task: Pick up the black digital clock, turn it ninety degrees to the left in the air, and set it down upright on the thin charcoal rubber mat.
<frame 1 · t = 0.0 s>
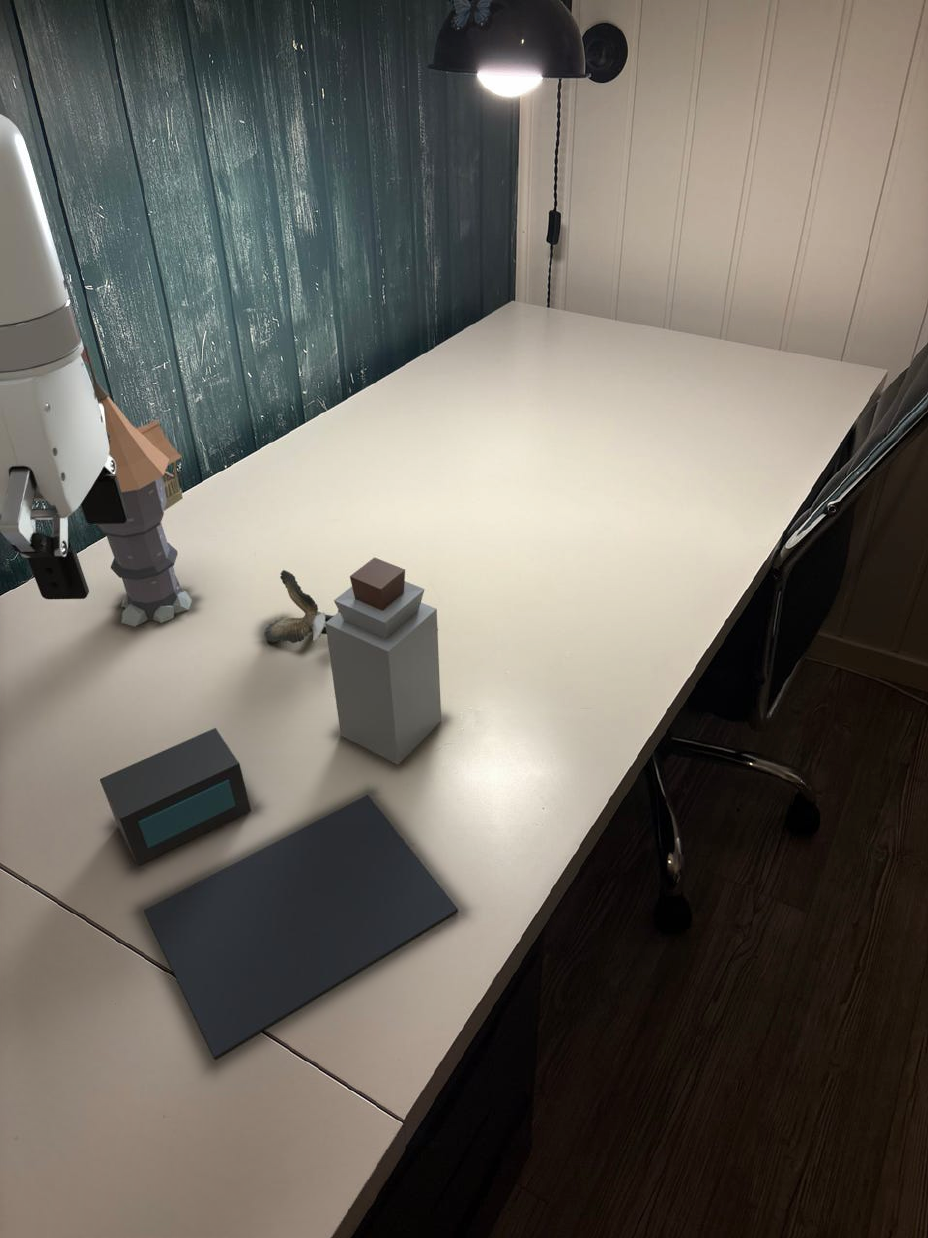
hand: (88, 557, 69), 23 cm above the table, tool pointing down, fingers open, 9 cm apart
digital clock: (184, 818, 78), on the table
eagle figurine: (309, 635, 98), on the table
perfume bottle: (391, 729, 87), on the table
model tower: (159, 602, 103), on the table
rubber mat: (301, 911, 71), on the table
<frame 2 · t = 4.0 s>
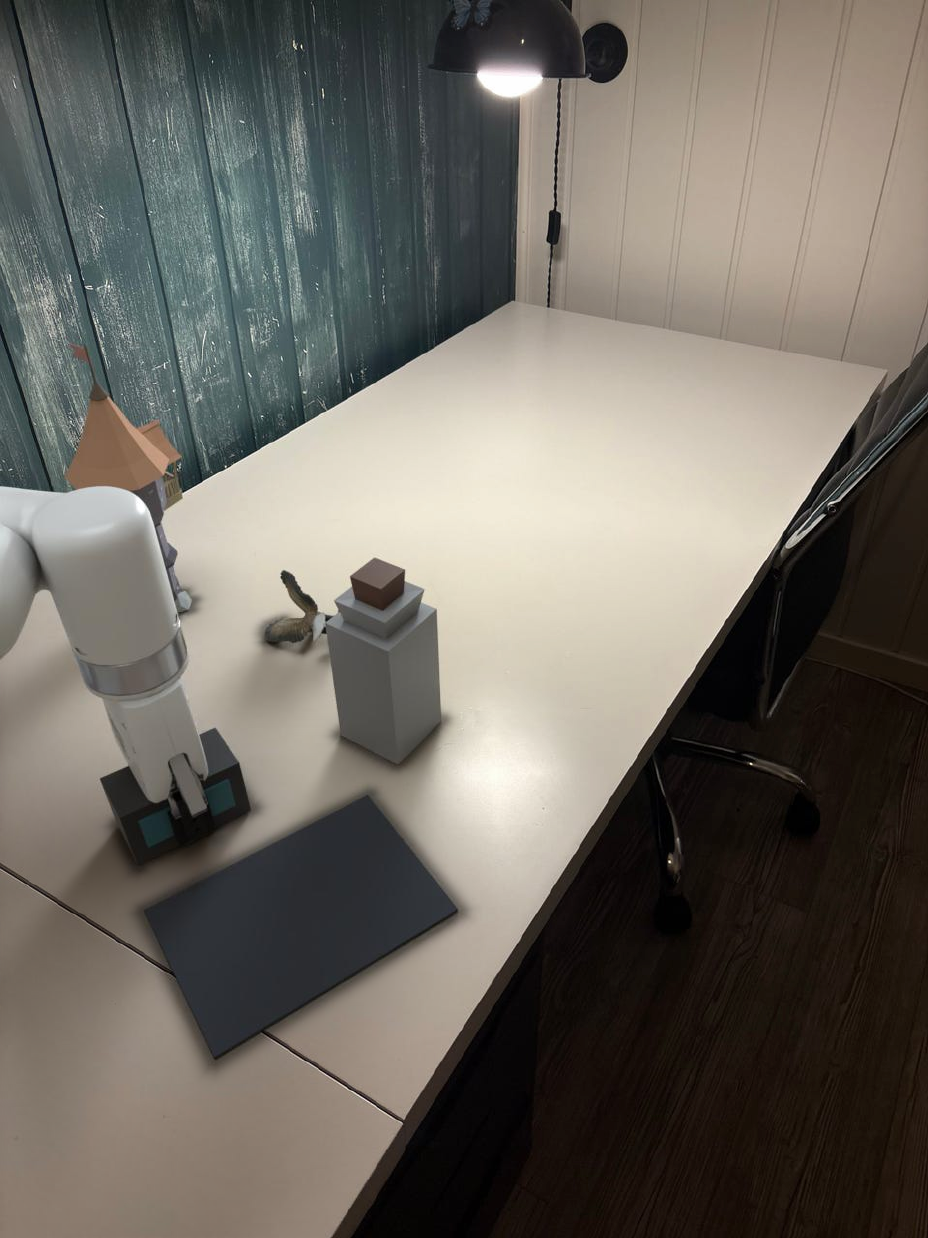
hand: (183, 811, 78), 1 cm above the table, tool pointing down, fingers closed on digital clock, 5 cm apart
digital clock: (185, 818, 78), on the table, touching gripper
everything else where it was.
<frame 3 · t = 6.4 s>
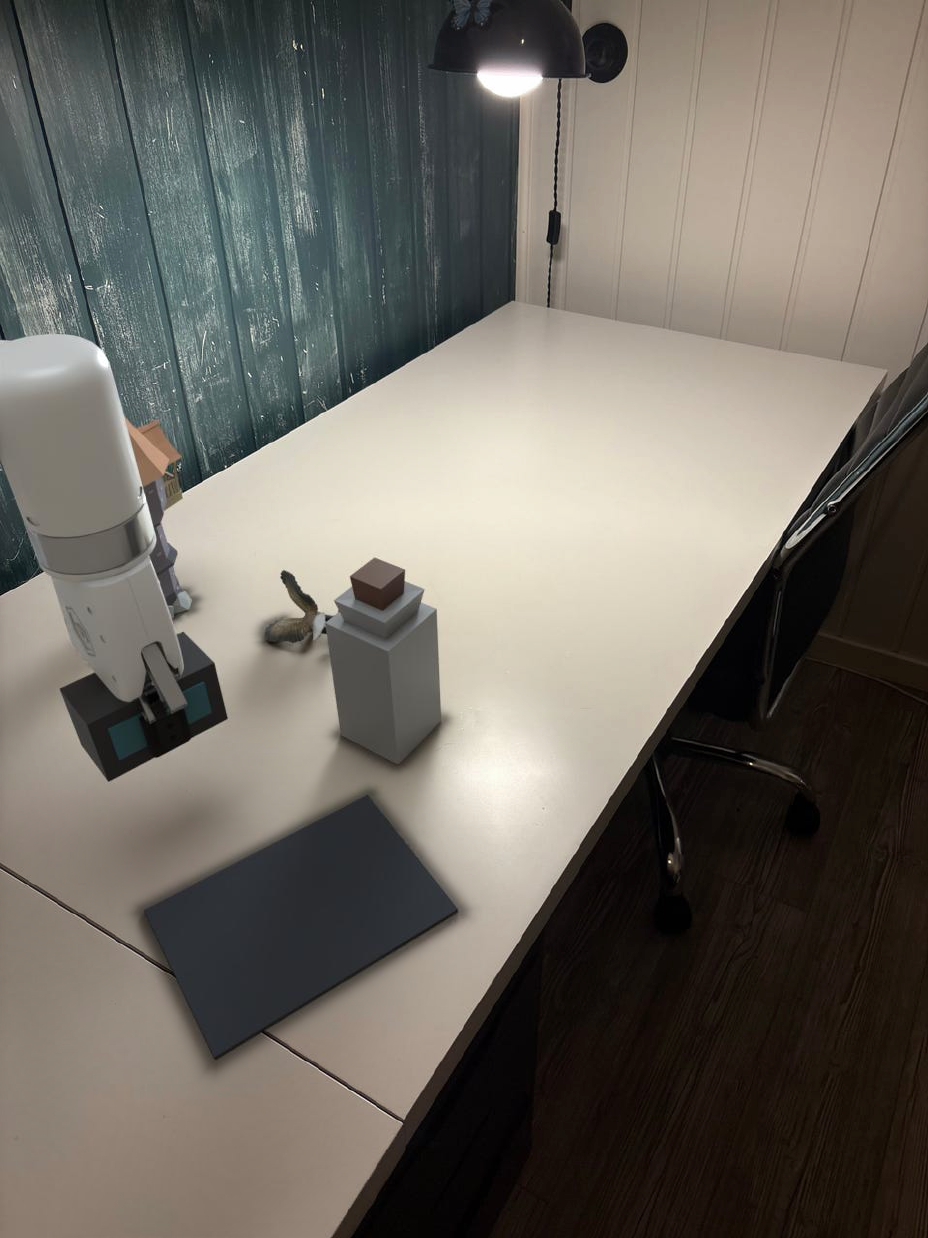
hand: (153, 724, 71), 11 cm above the table, tool pointing down, fingers closed on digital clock, 5 cm apart
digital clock: (155, 732, 72), point 10 cm above the table, touching gripper
everything else where it was.
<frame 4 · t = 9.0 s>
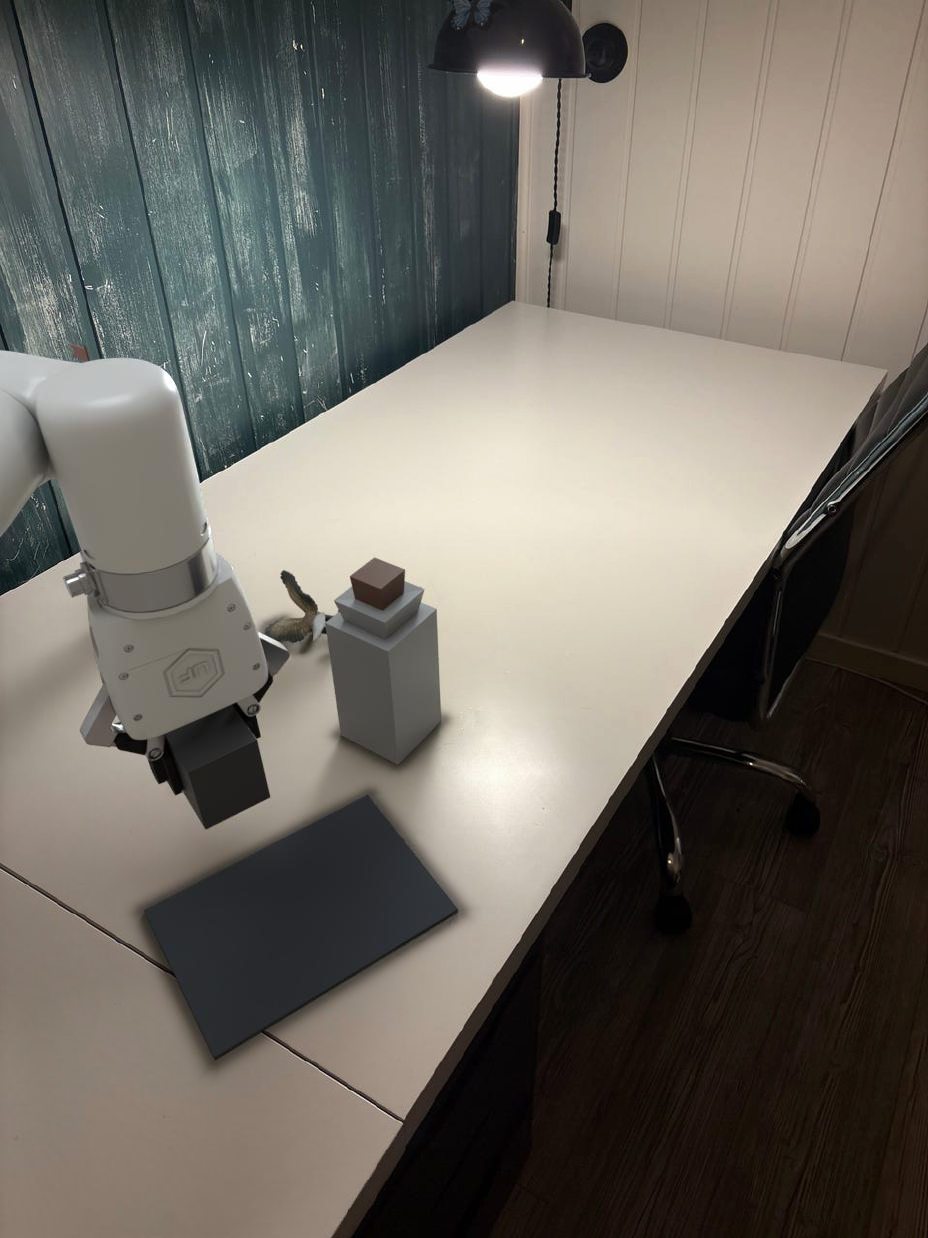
hand: (209, 762, 68), 12 cm above the table, tool pointing down, fingers closed on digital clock, 5 cm apart
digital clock: (211, 770, 68), point 11 cm above the table, touching gripper
everything else where it was.
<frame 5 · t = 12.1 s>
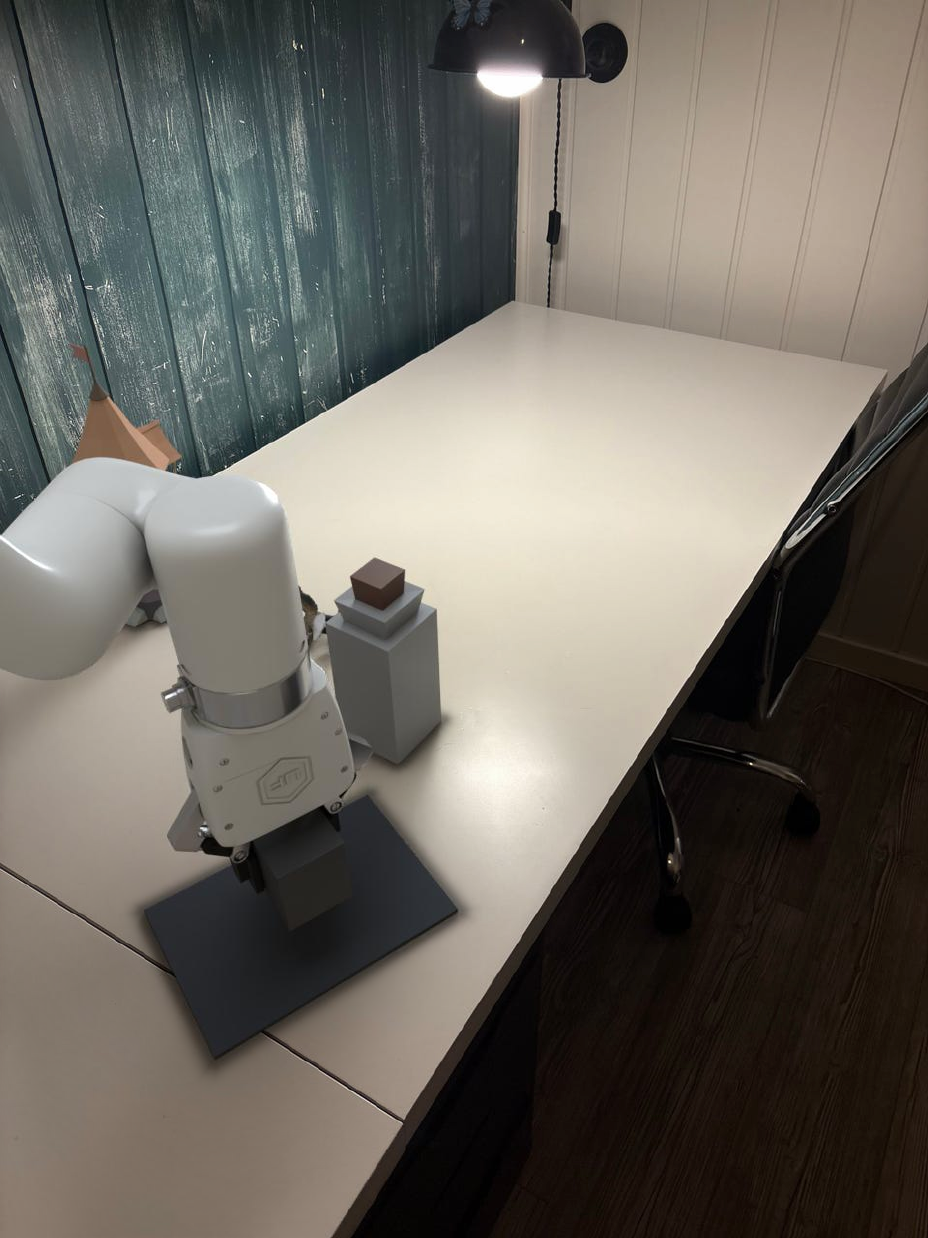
hand: (289, 857, 67), 7 cm above the table, tool pointing down, fingers closed on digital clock, 5 cm apart
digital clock: (290, 865, 67), point 6 cm above the table, touching gripper
everything else where it was.
when the fingers open (1 cm above the table, at t = 14.5 s): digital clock stays where it is, resting on rubber mat.
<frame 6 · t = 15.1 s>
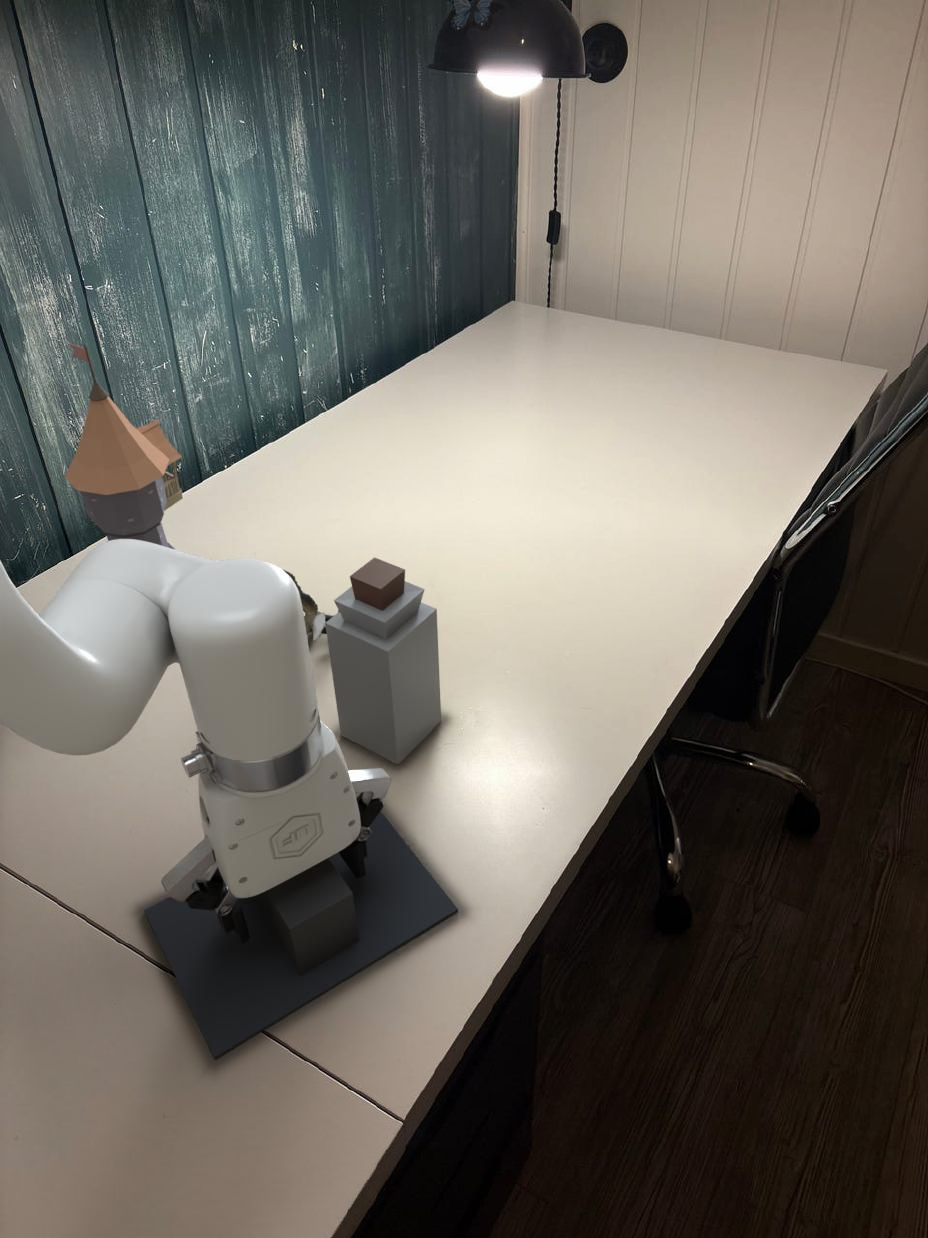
hand: (296, 895, 70), 2 cm above the table, tool pointing down, fingers open, 9 cm apart
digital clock: (300, 910, 71), resting on rubber mat
everything else where it was.
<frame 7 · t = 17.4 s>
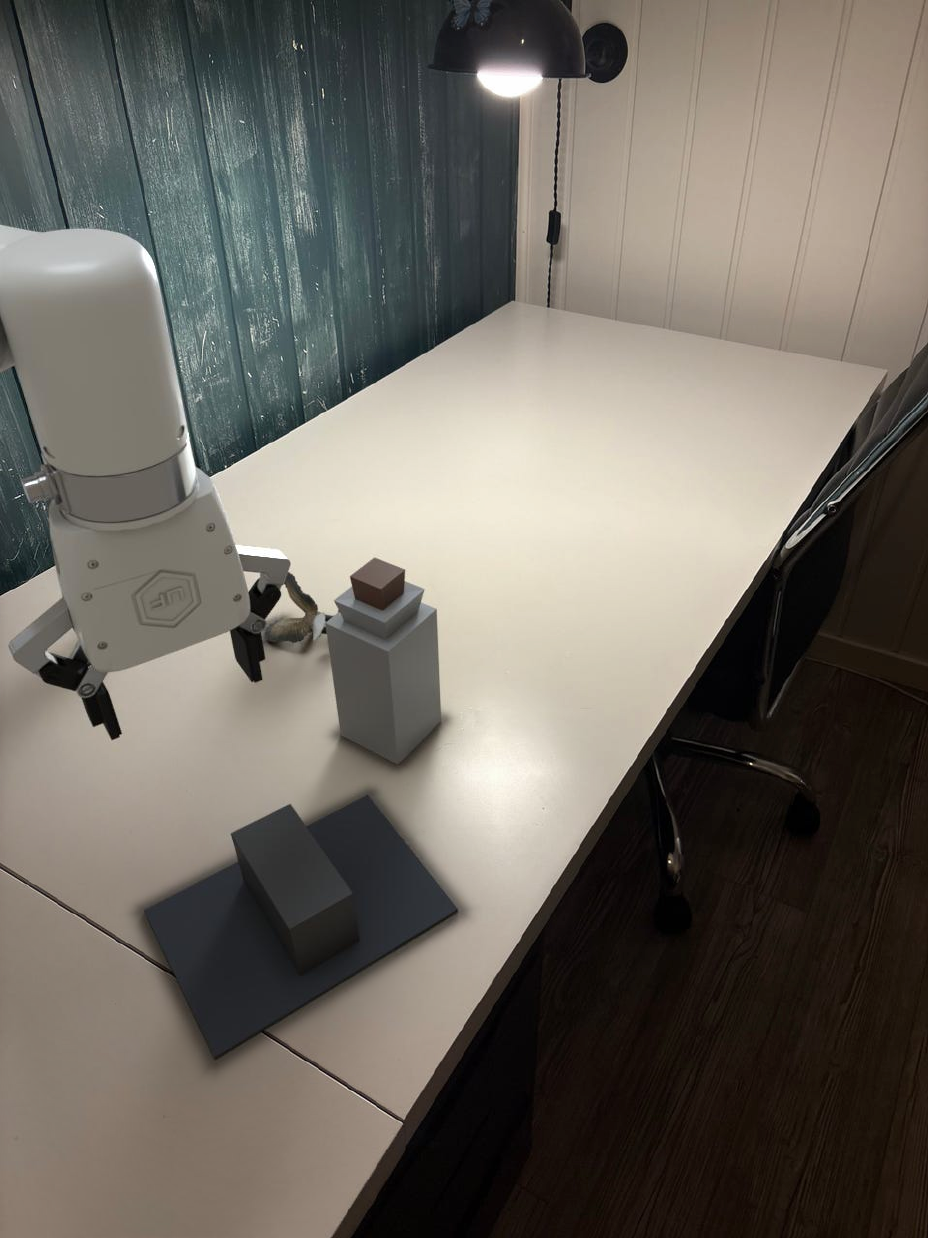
hand: (182, 697, 61), 20 cm above the table, tool pointing down, fingers open, 9 cm apart
nothing on the table moved.
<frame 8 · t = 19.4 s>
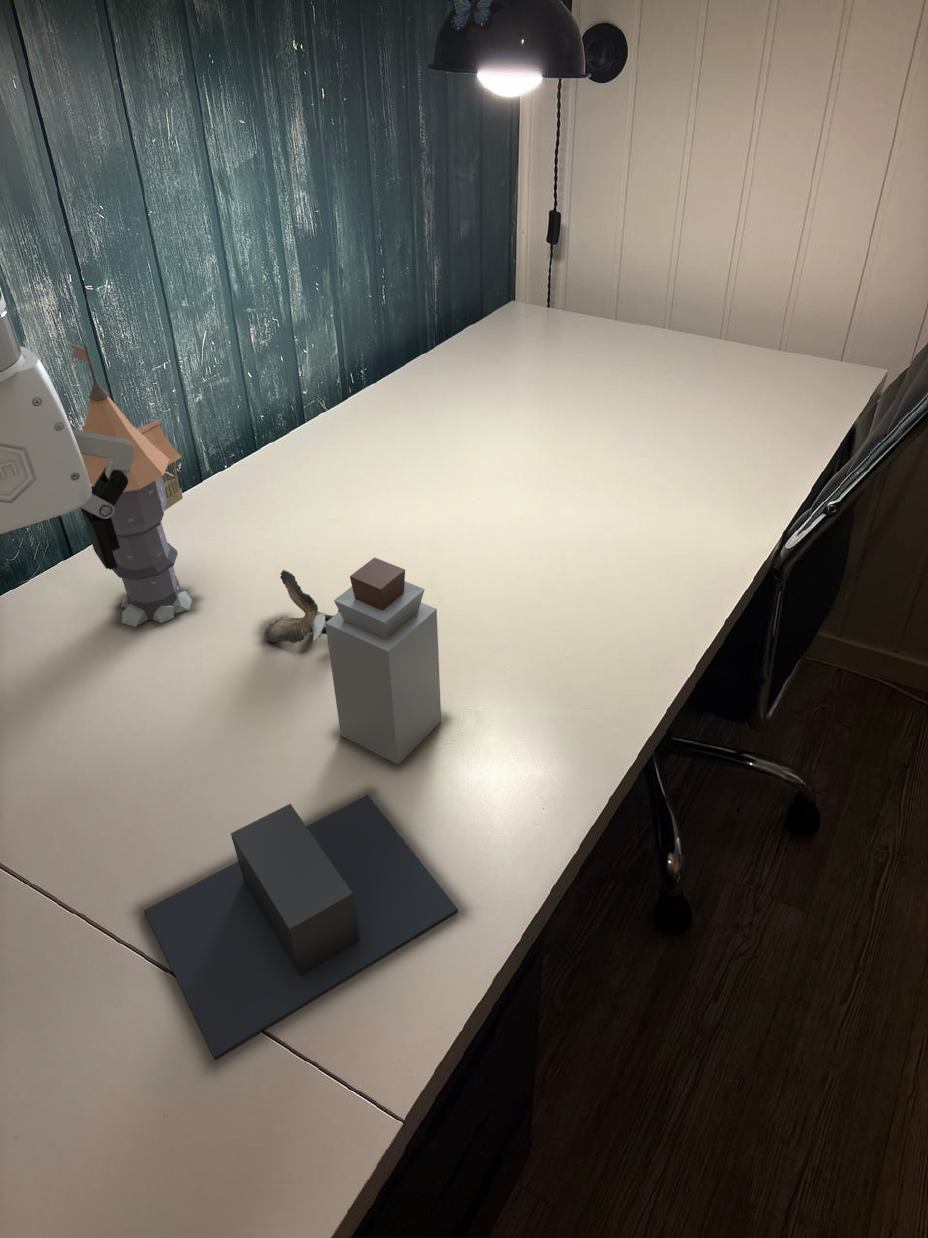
hand: (37, 583, 64), 24 cm above the table, tool pointing down, fingers open, 9 cm apart
nothing on the table moved.
at the end: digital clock inside the target area (0.0 cm from its centre), resting on rubber mat; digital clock tilted 0°; the gripper is holding nothing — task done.
